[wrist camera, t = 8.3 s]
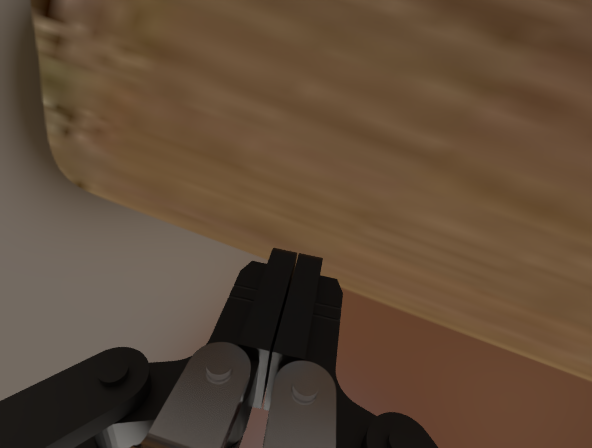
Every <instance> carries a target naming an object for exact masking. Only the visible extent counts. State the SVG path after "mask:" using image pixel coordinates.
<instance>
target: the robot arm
mask: <svg viewBox="0 0 592 448" xmlns="http://www.w3.org/2000/svg"><path fill="white" fill-rule="evenodd" d="M296 258H297V253H296V252H291V251H286V250H282V249H277V248H273V250H272V252H271V255H270V258H269V260H268V263H267V264H264V263H260V262H255V261H251V262H250V263H249V264H248V265H247V266H246V267H244V268H243V269H242V270H241V271H240V273H239V275H238V277H237V280H236V282H235V284H234V287H233V288H232V290H231V293H230V295H229V298H228V300H227V302H226V304H225V306H224V308H223V311H222V313H221V315H220V317H219V319H218V322H217V324H216V326H215V329H214V331H213V333H212V335H211V337H210V339H209V341H208V343H207V344H206V345H205V346H203V347H201V348H200V349H199V350H197V351H196V352H195V353H194V354H193V356H191V357H188V358H186V359H182V360H178V361H168V362H154V363H148V360H147V358H146V357H145V356H144V354H142V353H141V352H140V351H138V350H135V349H133V348H129V347H117V348H112V349H108V350H105V351H103V352H101V353H99V354H97V355H95V356H92V357H91V358H88V359H86V360H84V361H82V362H80V363H78V364H76V365H74V366H72V367H70V368H68V369H66V370H64V371H61V372H59V373H57V374H55V375H53V376H51V377H49V378H47V379H45V380H43V381H41V382H39V383H37V384H35V385H33V386H30V387H29V388H26V389H24V390H22V391H20V392H18V393H16V394H14V395H12V396H10V397H8V398H6V399H4V400H2V401H0V448H239V447H240V444H241V441H242V438H243V434H244V432H245V430H246V427H247V423H248V420H249V417H250V413H251V409H252V407H256V408H260V409H261V407H262V403H263V399H264V395H265V391H266V397H265V403H264V409H265V410H269V414H268V420H267V425H266V432H265V437H264V443H263V448H438V447H437V445H436V444H435V443H434V441H433V440H432V439H431V437H430V436H429V435H428V433H427V432H426V431H425V430H424V428H423V427H422V426H421V425H420V424H418V423H417V422H416V421H415V420H413V419H412V418H410V417H408V416H406V415H403V414H400V413H395V412H388V413H383V414H381V415H379V416H376V415H374V414H372V413H370V412H369V411H367V410H365V409H364V408H362V407H360V406H359V405H357V404H356V403H354V402H352V400H350V399H349V398H348V397H347V396H346V394H345V393H344V392H343V391H342V389H341V388H340V386H339V384H338V381H337V378H336V372H335V371H336V370H335V369H336V357H337V347H338V336H339V326H340V317H341V307H342V297H343V292H342V290H341V288H340V285H339V283H338V280H337V279H334V278H330V277H325V276H320V272H321V266H322V260H323V258H320V257H315V256H310V255H306V254H301V253H299V255H298V259H297V263H296ZM295 264H296V266H295ZM267 383H268V384H267ZM266 387H267V390H266Z"/></svg>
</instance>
